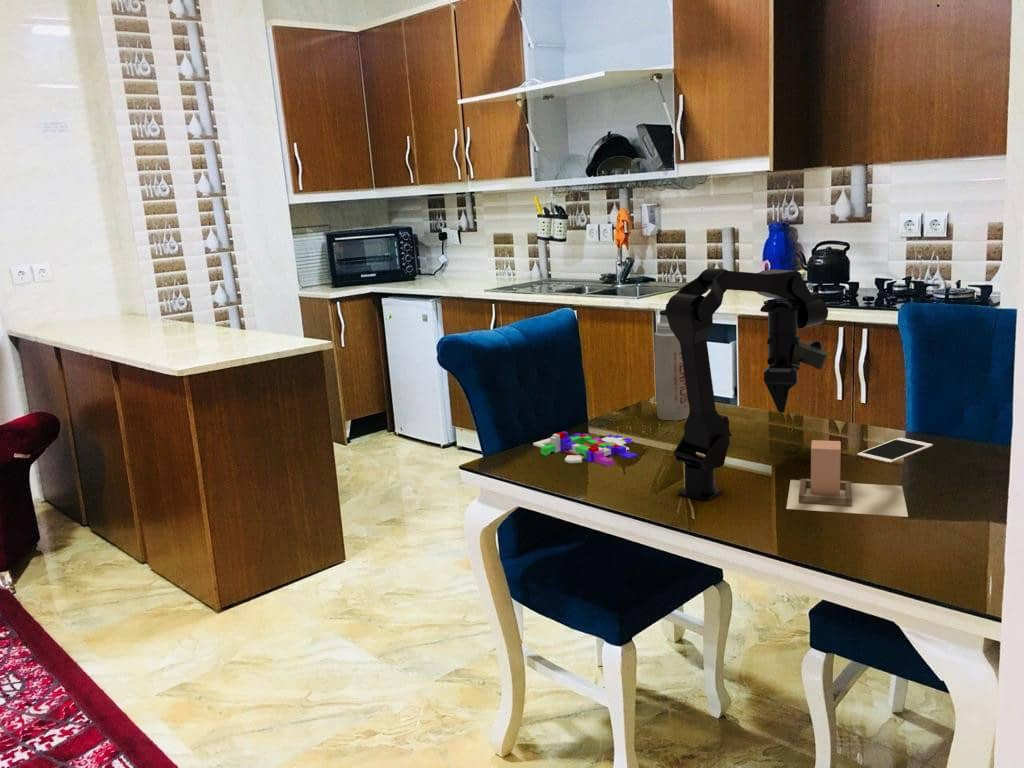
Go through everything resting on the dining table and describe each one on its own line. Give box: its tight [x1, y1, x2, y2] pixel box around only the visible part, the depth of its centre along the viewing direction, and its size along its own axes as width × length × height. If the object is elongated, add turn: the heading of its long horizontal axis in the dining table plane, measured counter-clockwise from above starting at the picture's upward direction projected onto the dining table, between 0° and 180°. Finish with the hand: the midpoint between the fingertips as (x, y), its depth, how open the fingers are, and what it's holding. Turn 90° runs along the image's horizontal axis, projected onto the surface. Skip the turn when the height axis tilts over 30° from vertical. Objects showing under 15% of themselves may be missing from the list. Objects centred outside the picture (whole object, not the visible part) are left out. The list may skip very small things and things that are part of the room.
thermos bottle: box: [653, 309, 689, 421], centre depth 213 cm, size 8×8×28 cm
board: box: [785, 478, 909, 518], centre depth 154 cm, size 20×15×2 cm
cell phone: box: [857, 437, 934, 464], centre depth 180 cm, size 8×16×1 cm, turn 124°
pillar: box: [810, 439, 842, 496], centre depth 154 cm, size 5×5×10 cm
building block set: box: [532, 430, 639, 467], centre depth 196 cm, size 25×21×4 cm
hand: (782, 406), depth 173 cm, fingers open, 9 cm apart
